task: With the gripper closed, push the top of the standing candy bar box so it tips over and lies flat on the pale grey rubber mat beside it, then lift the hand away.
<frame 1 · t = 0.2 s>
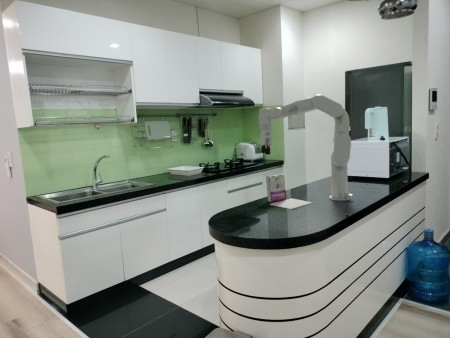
hand: (265, 153, 222), 30 cm above the table, tool pointing down, fingers open, 9 cm apart
candy bar box: (276, 200, 219), on the table, touching mat
mat: (291, 203, 209), on the table
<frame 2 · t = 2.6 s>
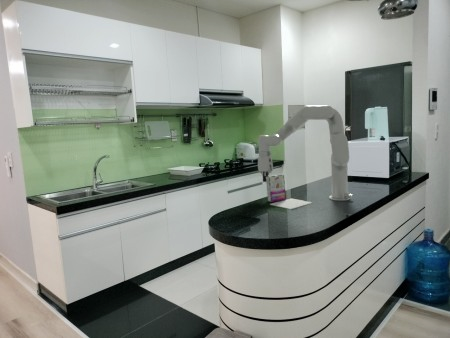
hand: (265, 181, 225), 12 cm above the table, tool pointing down, fingers closed
nothing on the table moved.
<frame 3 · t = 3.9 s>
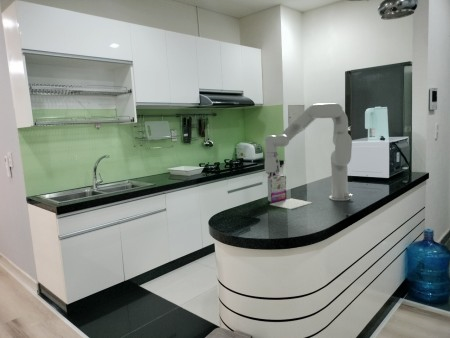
hand: (272, 182, 220), 12 cm above the table, tool pointing down, fingers closed
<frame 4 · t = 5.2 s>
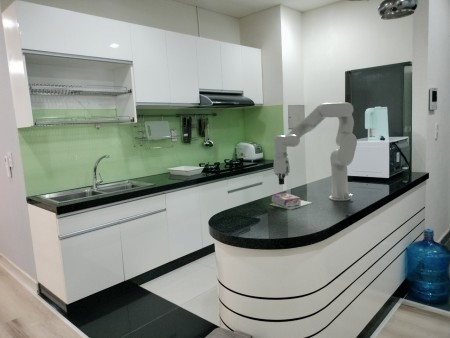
hand: (281, 184, 214), 12 cm above the table, tool pointing down, fingers closed
candy bar box: (278, 197, 216), point 3 cm above the table, touching mat
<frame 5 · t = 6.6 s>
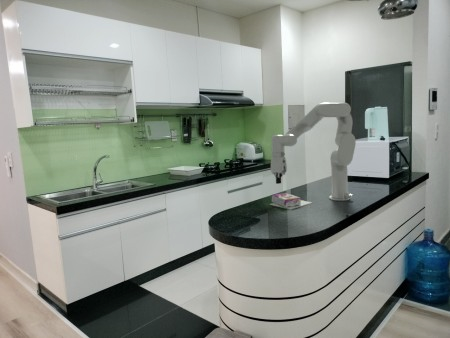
hand: (278, 183, 215), 12 cm above the table, tool pointing down, fingers closed
nothing on the table moved.
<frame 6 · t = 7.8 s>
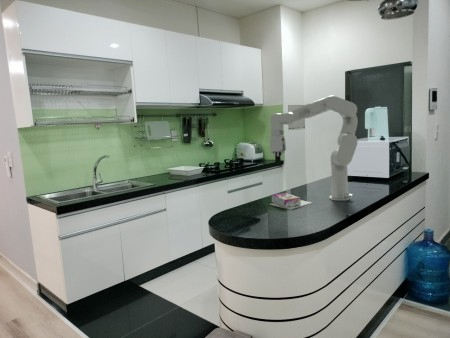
hand: (278, 162, 215), 25 cm above the table, tool pointing down, fingers closed
nothing on the table moved.
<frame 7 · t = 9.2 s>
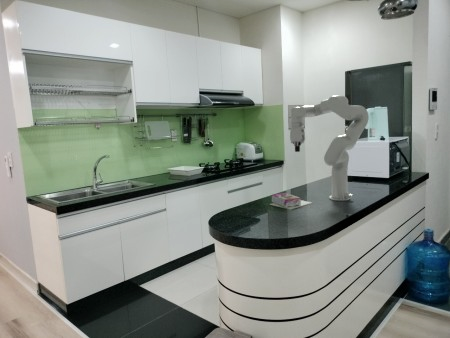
hand: (297, 151, 236), 29 cm above the table, tool pointing down, fingers closed
nothing on the table moved.
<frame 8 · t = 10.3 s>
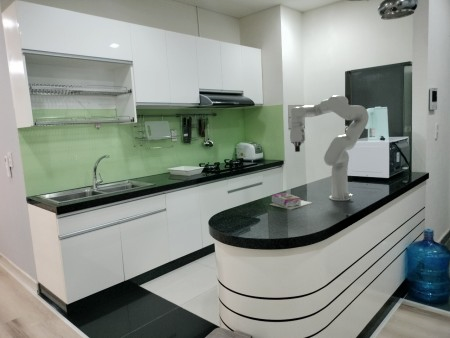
hand: (297, 151, 236), 29 cm above the table, tool pointing down, fingers closed
nothing on the table moved.
at the end: candy bar box tilted 91°; candy bar box touching mat; the gripper is holding nothing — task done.
